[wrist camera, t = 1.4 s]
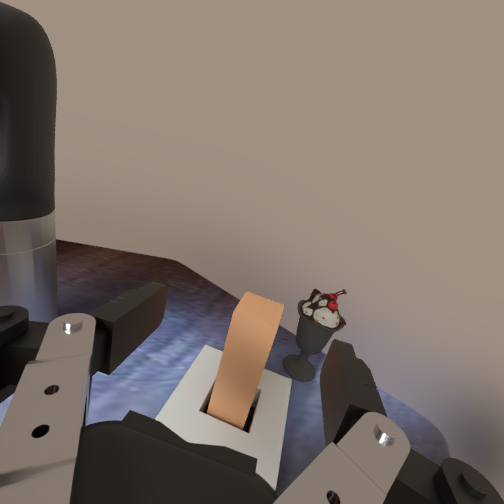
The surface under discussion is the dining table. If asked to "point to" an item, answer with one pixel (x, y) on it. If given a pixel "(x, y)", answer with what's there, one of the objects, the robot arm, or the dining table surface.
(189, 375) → the socket block
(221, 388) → the peg
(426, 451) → the dining table surface
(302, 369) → the sundae
